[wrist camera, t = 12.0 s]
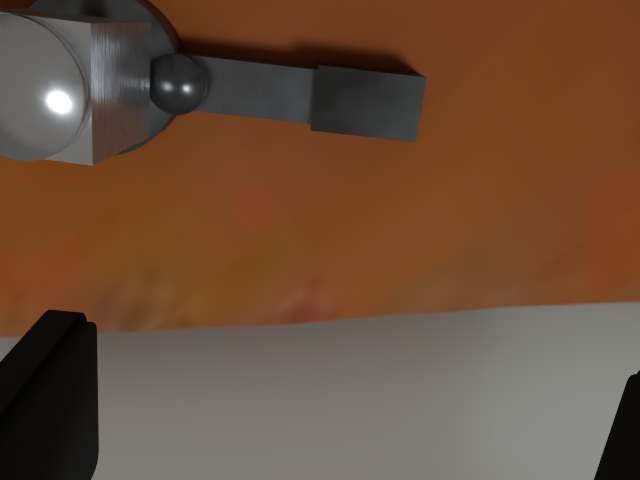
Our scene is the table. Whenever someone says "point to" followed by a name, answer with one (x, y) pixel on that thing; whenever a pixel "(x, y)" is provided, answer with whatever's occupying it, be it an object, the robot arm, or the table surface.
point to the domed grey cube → (72, 85)
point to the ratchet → (262, 83)
